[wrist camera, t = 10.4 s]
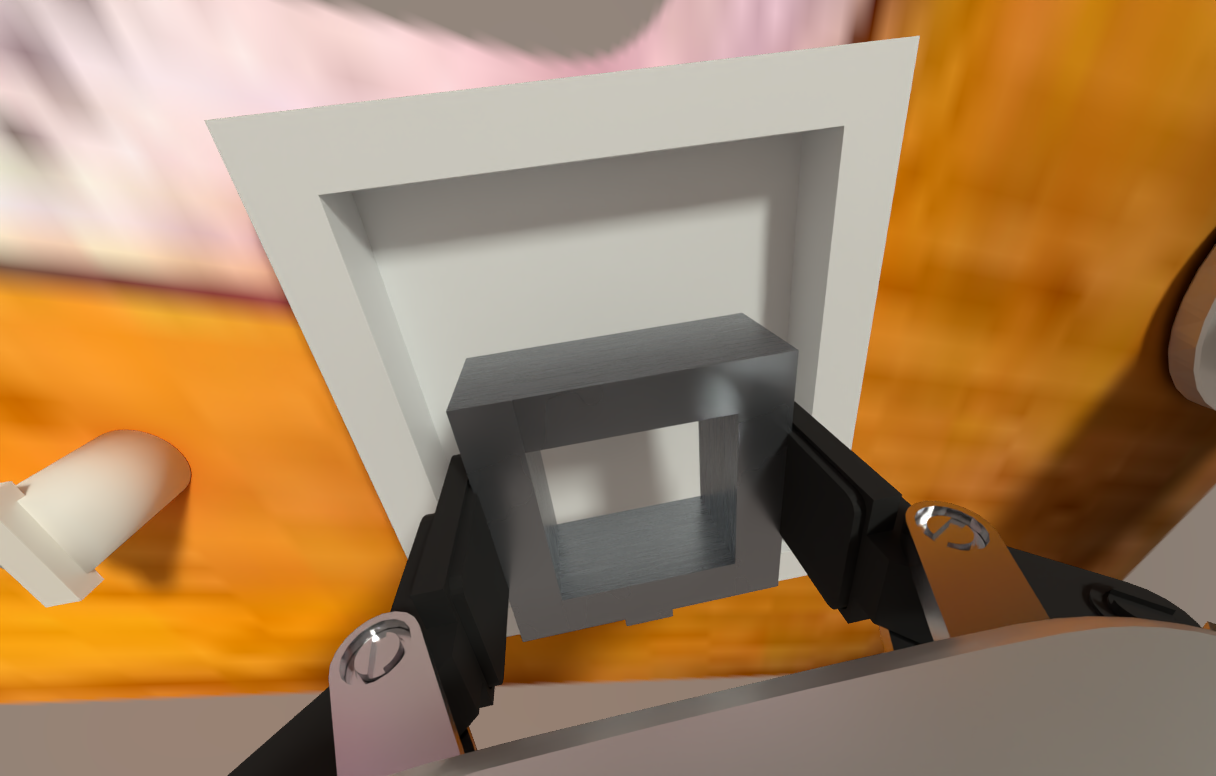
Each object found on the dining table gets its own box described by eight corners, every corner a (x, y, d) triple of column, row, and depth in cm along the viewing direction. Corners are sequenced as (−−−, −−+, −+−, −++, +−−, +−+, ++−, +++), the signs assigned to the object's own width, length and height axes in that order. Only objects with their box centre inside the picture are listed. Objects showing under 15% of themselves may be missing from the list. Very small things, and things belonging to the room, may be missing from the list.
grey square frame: (742, 312, 11) (798, 350, 8) (736, 553, 15) (774, 624, 12) (466, 358, 10) (446, 412, 8) (535, 595, 14) (535, 678, 12)
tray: (850, 61, 12) (919, 35, 10) (799, 526, 20) (831, 570, 18) (272, 131, 11) (204, 120, 9) (460, 593, 19) (449, 648, 17)
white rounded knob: (153, 412, 14) (22, 492, 10) (213, 499, 15) (117, 593, 12) (58, 427, 14) (-108, 514, 10) (129, 513, 15) (8, 614, 12)
